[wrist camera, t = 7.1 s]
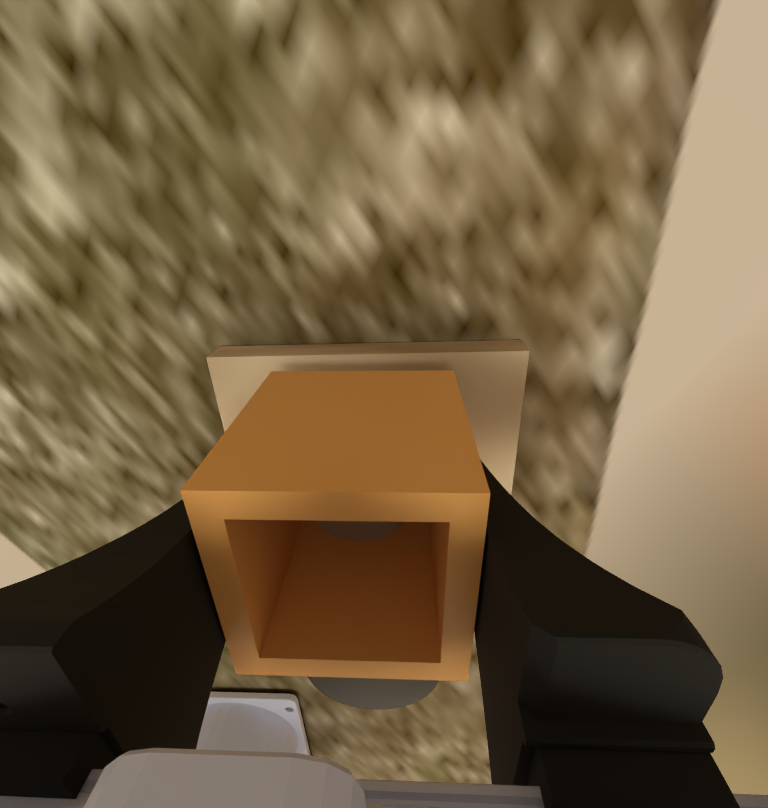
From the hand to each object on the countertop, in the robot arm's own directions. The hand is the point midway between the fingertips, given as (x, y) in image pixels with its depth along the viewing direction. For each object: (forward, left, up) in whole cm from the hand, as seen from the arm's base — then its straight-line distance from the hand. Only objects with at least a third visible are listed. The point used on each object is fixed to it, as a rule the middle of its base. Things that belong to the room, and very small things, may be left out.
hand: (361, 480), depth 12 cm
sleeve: (0, 0, -2) cm, 2 cm away
